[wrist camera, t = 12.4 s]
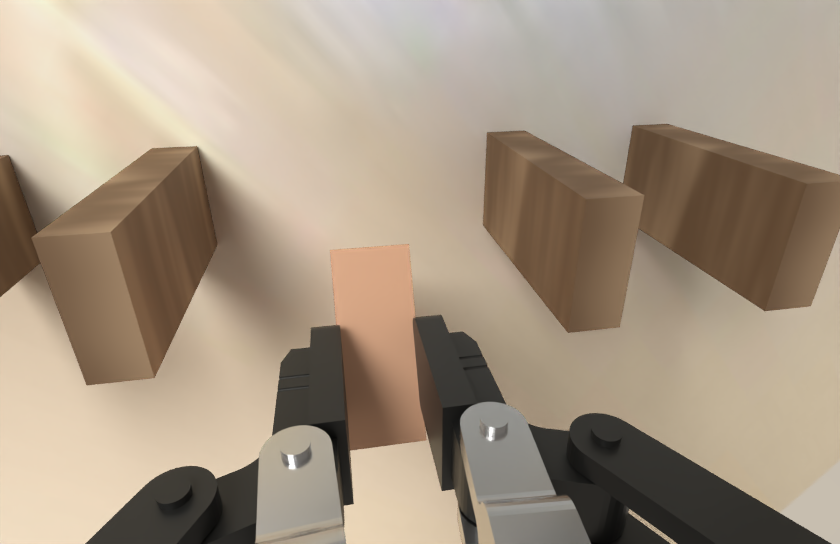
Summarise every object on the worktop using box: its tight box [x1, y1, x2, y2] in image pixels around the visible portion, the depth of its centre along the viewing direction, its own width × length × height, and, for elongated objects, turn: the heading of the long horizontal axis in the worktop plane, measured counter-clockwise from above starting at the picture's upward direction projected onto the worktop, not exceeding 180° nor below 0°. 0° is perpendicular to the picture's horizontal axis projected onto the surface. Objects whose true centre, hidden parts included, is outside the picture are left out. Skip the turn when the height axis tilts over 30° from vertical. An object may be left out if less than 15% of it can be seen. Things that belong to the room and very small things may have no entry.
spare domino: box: [330, 244, 426, 450], centre depth 18 cm, size 2×5×11 cm, turn 1°
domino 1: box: [623, 124, 840, 311], centre depth 23 cm, size 2×5×11 cm, turn 1°
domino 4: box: [32, 146, 217, 385], centre depth 20 cm, size 2×5×11 cm, turn 1°
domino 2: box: [483, 131, 644, 333], centre depth 22 cm, size 2×5×11 cm, turn 1°
